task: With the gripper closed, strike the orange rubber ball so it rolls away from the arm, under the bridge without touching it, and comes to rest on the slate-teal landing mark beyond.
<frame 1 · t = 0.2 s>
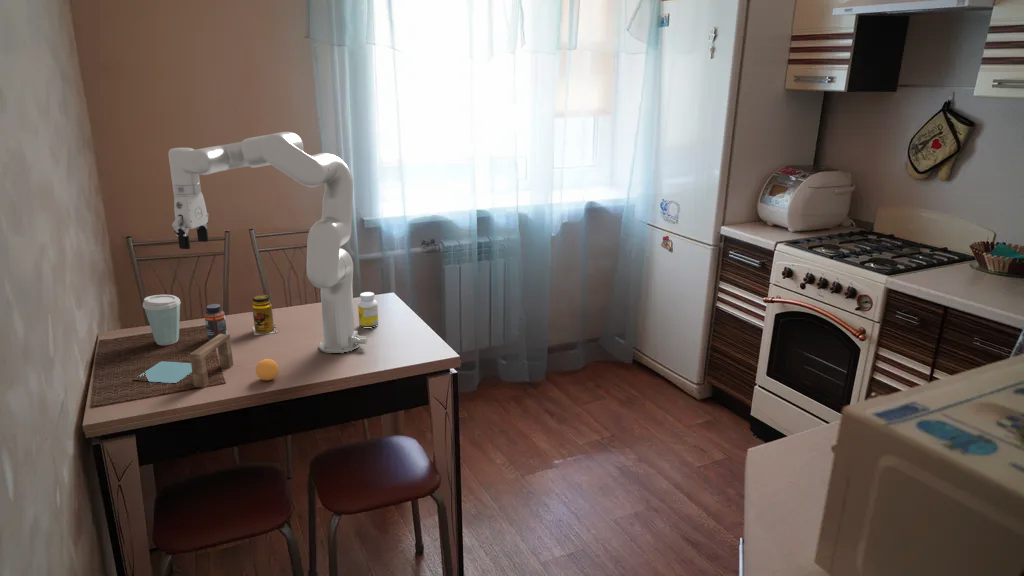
hand: (194, 244, 204), 31 cm above the table, tool pointing down, fingers open, 9 cm apart
bridge: (214, 375, 187), on the table
landing mark: (168, 372, 189), on the table
disposable coffee cup: (167, 342, 210), on the table
pill bottle: (368, 326, 227), on the table
ball: (267, 369, 185), on the table
condiment: (264, 330, 222), on the table
supplement bottle: (217, 339, 214), on the table
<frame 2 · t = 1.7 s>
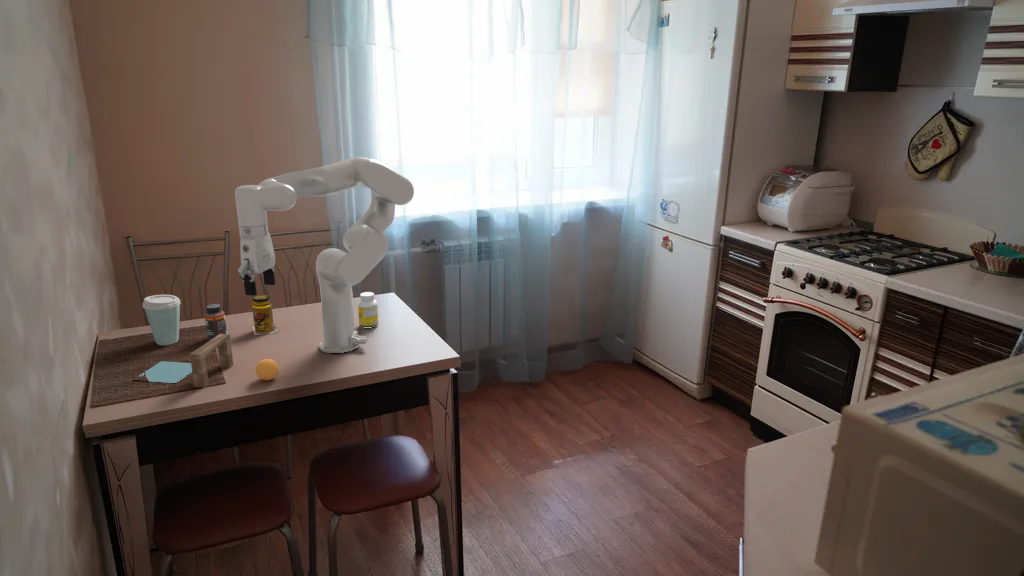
hand: (260, 289, 187), 23 cm above the table, tool pointing down, fingers open, 9 cm apart
nothing on the table moved.
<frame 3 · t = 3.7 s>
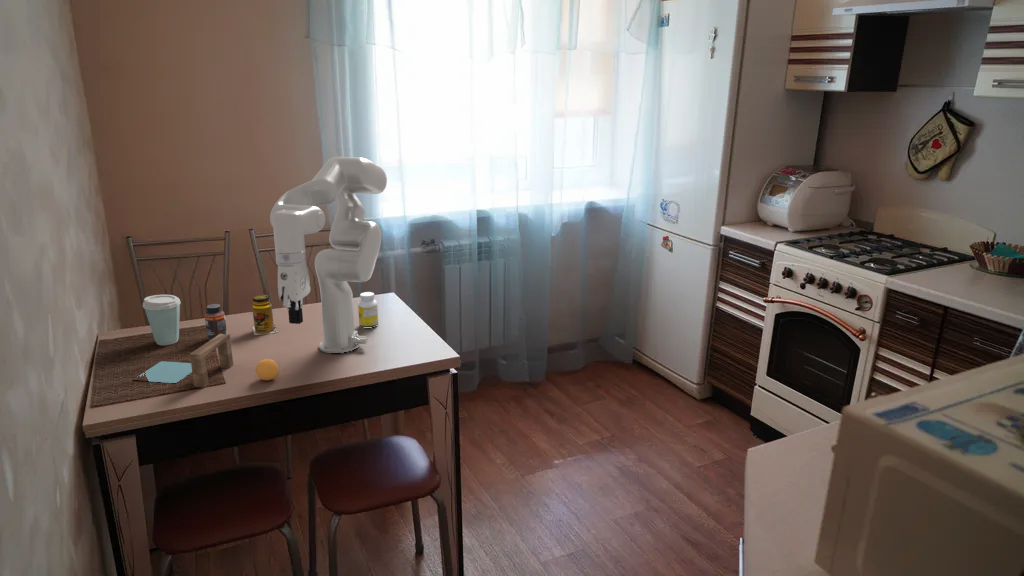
hand: (296, 322, 180), 17 cm above the table, tool pointing down, fingers closed
nothing on the table moved.
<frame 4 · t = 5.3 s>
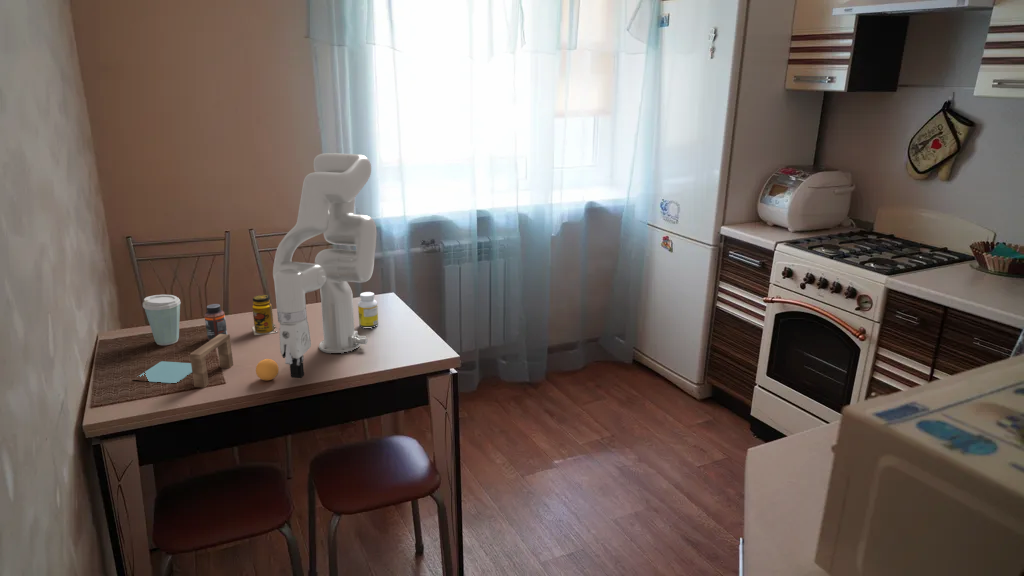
hand: (297, 376, 185), 1 cm above the table, tool pointing down, fingers closed
nothing on the table moved.
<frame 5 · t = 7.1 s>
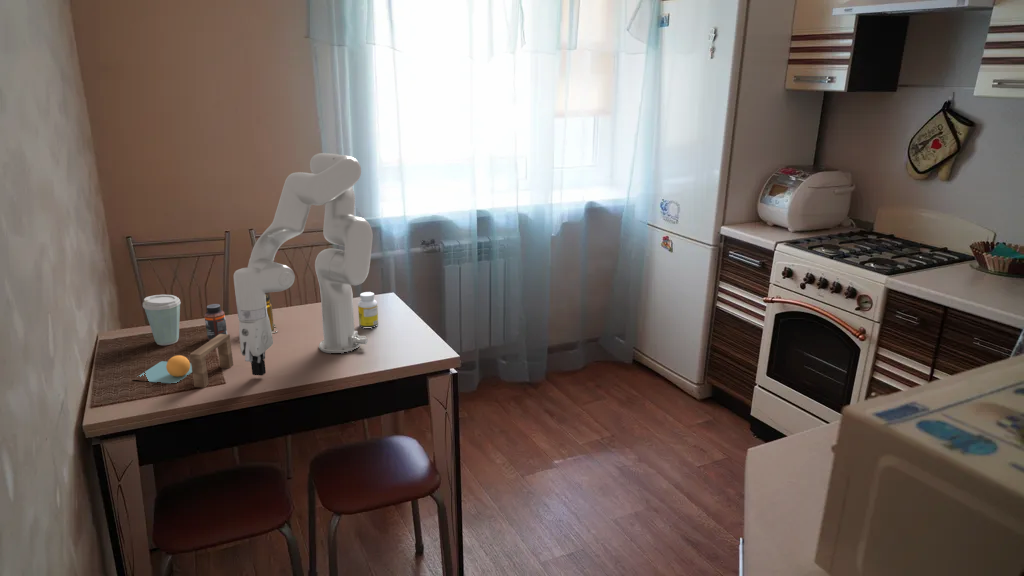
hand: (259, 373, 186), 1 cm above the table, tool pointing down, fingers closed
ball: (178, 366, 186), on the table
everything else where it was.
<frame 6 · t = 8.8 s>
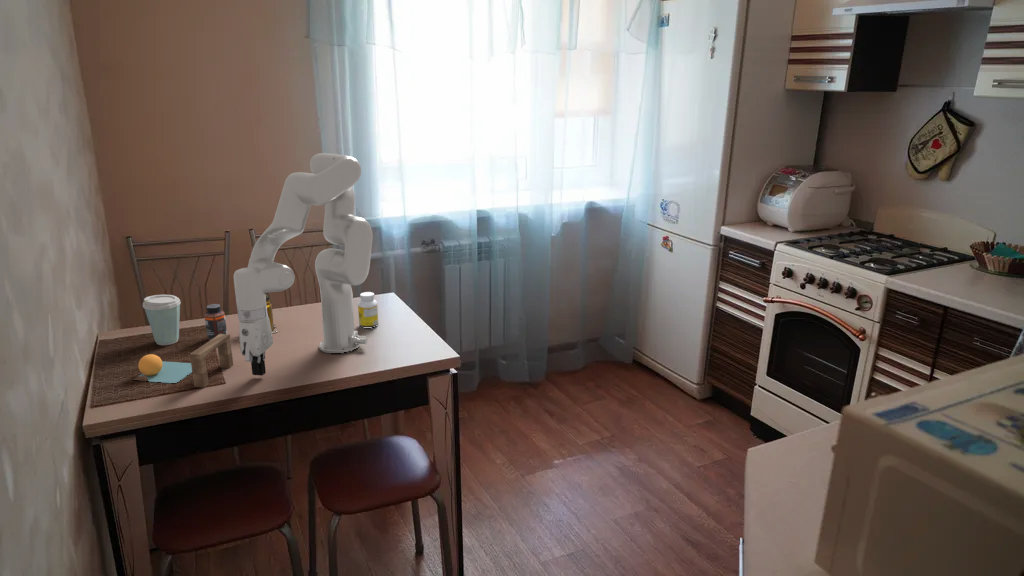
hand: (259, 373, 186), 1 cm above the table, tool pointing down, fingers closed
ball: (150, 364, 186), on the table
everything else where it was.
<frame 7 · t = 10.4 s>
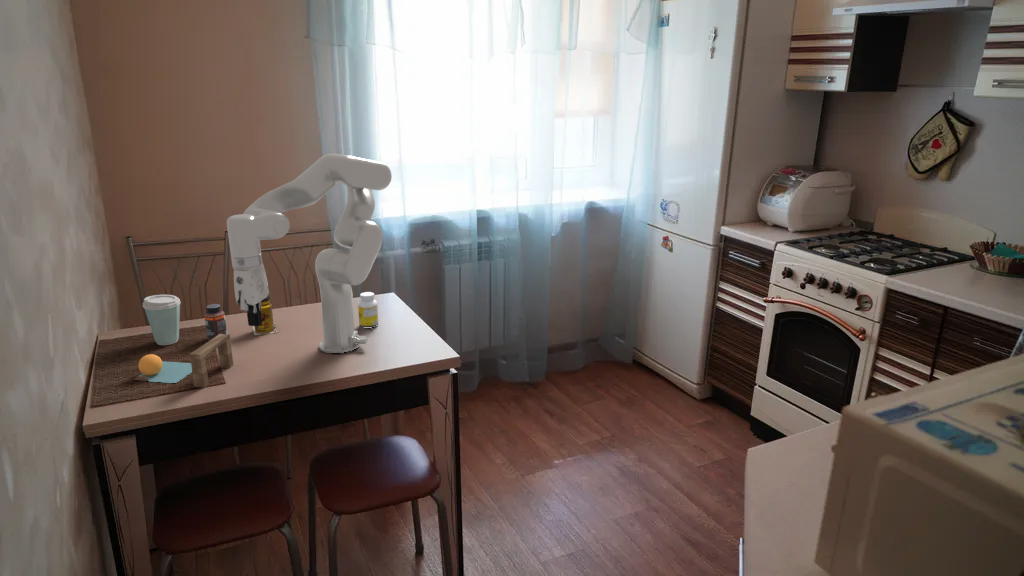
hand: (255, 324, 182), 16 cm above the table, tool pointing down, fingers closed
nothing on the table moved.
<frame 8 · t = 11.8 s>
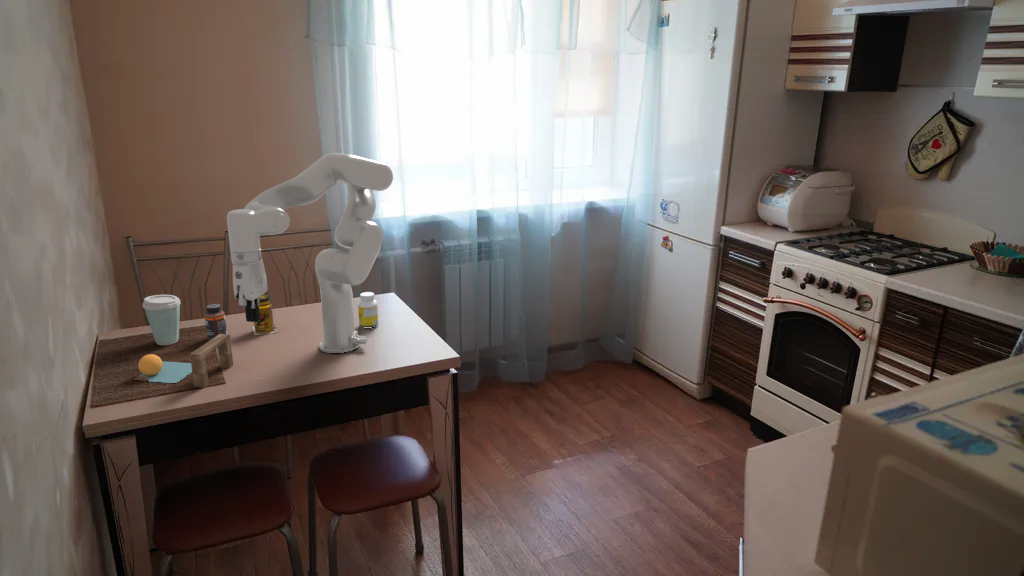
hand: (253, 320, 182), 17 cm above the table, tool pointing down, fingers closed
nothing on the table moved.
at the end: ball 4.1 cm from the landing mark (horizontally); ball never touched bridge; ball at rest at the end (0.0 cm/s) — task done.
